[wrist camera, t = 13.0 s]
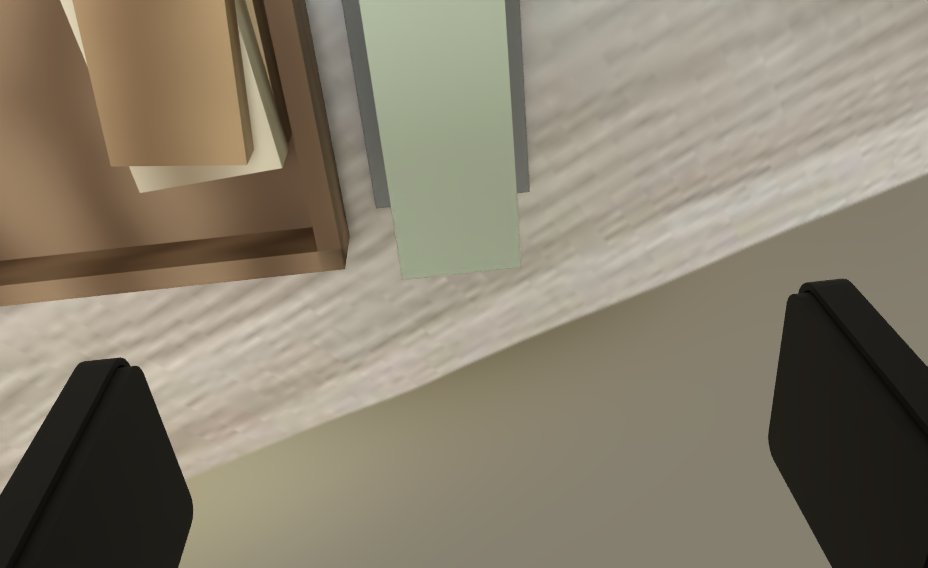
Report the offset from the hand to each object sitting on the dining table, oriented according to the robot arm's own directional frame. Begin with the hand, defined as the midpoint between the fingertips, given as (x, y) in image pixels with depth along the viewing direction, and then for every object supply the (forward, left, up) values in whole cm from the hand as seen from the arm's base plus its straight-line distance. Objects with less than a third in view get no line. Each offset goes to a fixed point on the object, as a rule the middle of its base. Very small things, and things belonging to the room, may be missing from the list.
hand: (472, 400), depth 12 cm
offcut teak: (+9, 0, -20) cm, 22 cm away
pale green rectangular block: (0, 0, -24) cm, 24 cm away
